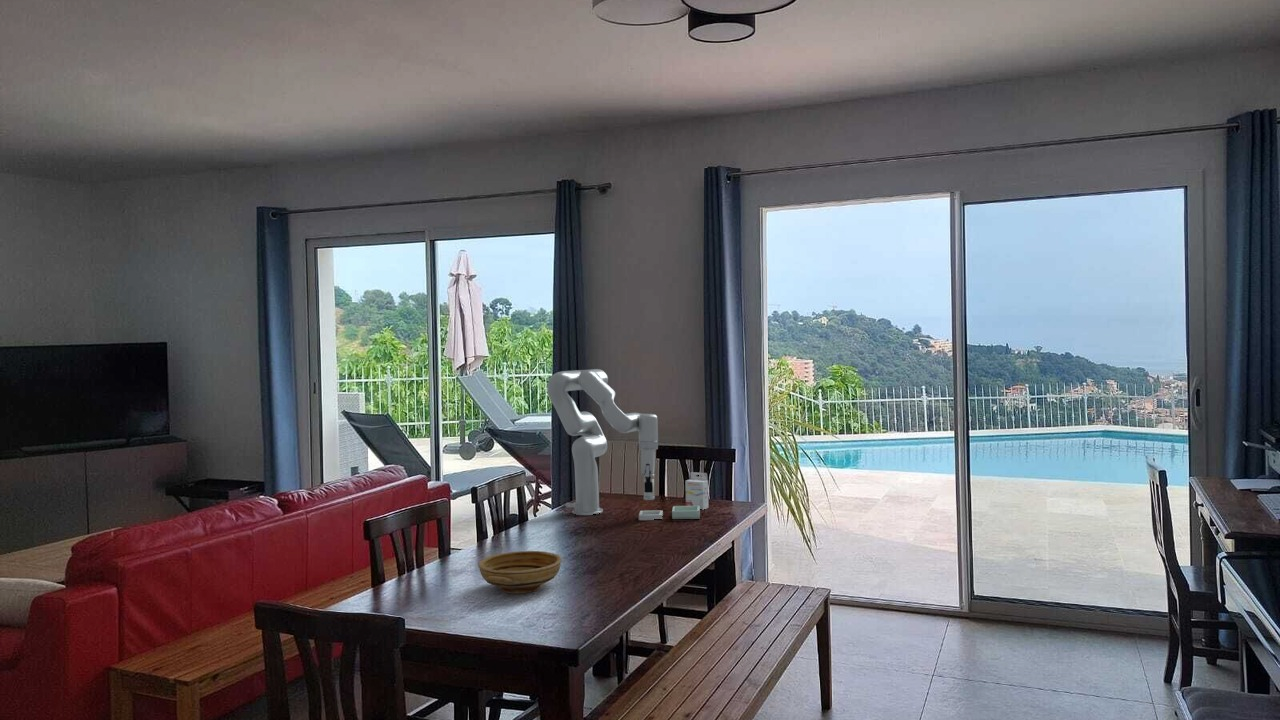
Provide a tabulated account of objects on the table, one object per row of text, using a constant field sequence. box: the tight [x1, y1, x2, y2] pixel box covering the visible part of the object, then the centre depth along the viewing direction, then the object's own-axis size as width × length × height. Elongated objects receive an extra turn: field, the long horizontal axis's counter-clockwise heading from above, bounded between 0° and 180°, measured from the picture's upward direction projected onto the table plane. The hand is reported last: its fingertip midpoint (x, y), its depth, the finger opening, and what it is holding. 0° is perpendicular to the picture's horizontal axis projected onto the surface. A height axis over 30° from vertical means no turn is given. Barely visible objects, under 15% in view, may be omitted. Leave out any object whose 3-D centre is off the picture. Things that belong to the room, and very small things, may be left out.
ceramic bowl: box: [477, 550, 563, 594], centre depth 256 cm, size 30×24×8 cm
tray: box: [671, 505, 701, 519], centre depth 349 cm, size 11×11×4 cm
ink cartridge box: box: [684, 471, 709, 511], centre depth 366 cm, size 9×5×15 cm, turn 58°
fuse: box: [642, 472, 656, 501], centre depth 350 cm, size 4×4×10 cm
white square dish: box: [638, 509, 664, 521], centre depth 350 cm, size 9×9×2 cm
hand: (649, 490), depth 350 cm, fingers closed on fuse, 4 cm apart
